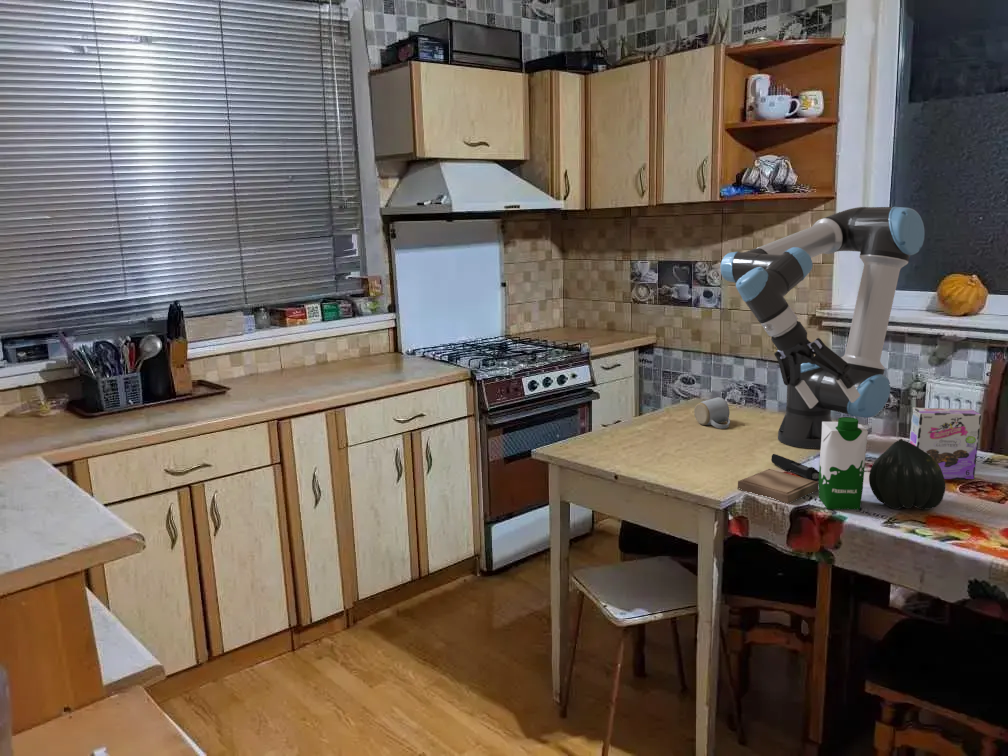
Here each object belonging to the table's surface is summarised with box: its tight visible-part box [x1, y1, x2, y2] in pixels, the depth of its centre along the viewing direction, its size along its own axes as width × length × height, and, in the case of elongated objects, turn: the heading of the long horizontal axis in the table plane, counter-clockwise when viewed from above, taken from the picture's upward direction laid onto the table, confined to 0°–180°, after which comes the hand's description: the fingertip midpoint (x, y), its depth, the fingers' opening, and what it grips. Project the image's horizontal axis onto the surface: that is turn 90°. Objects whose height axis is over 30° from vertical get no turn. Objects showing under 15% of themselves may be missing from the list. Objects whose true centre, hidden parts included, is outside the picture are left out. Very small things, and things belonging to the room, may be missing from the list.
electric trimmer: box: [770, 453, 819, 482], centre depth 206 cm, size 4×16×3 cm, turn 22°
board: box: [737, 468, 819, 505], centre depth 194 cm, size 13×13×2 cm
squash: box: [868, 438, 946, 510], centre depth 183 cm, size 14×15×15 cm
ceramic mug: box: [693, 396, 731, 430], centre depth 248 cm, size 11×8×8 cm
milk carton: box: [818, 416, 869, 511], centre depth 183 cm, size 9×9×20 cm
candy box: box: [908, 407, 982, 480], centre depth 200 cm, size 14×6×16 cm, turn 82°
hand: (834, 402), depth 194 cm, fingers open, 13 cm apart
